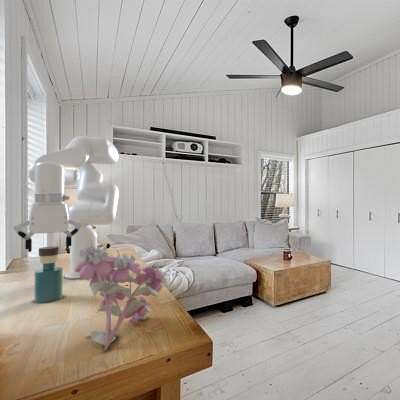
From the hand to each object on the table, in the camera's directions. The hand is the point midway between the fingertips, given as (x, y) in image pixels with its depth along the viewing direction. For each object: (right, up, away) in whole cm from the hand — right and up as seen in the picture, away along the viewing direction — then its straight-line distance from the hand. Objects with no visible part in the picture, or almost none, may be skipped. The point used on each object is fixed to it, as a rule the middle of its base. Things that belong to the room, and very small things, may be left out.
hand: (49, 249), depth 99 cm
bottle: (0, -17, 0) cm, 17 cm away
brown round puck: (0, -2, 0) cm, 2 cm away
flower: (+38, -18, -21) cm, 47 cm away
